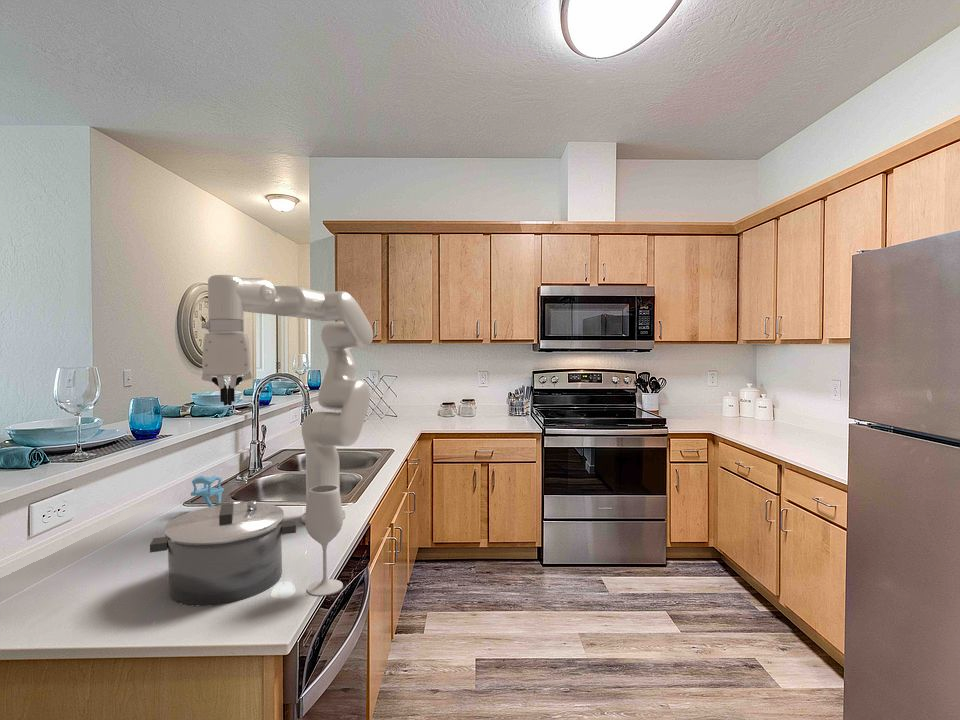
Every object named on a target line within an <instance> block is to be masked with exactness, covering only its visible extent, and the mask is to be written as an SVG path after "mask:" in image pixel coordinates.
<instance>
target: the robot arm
mask: <svg viewBox="0 0 960 720" xmlns="http://www.w3.org/2000/svg"><path fill="white" fill-rule="evenodd" d="M207 302H208V304H207V309H208V319H207V321H205V322H201V329H205V330H208V332H207V333H205V334H204V338H203V345H202V365H201V366H202V367H201V368H202V375H201V376H202V377H201V380H203V381H204V382H205V381H206V382H210V383H214V385H216V387H218V388H219V389H220V391H219V393H220V394H219V395H220V397H219V398H220V402H221V403H223V406H225V407H226V406H232V405H233V403H232V402H236V401H235V397H236V396H235V391H236V390H235V388H236V387H237V386H238V385H240V384H241V382H245V381H248V380H251V379H253V376H252V373H251V352H250V351H251V350H250V342H249V337H248V334H247V333H244V332H245V331H244V330H245V329H244V328H245V325H244V324H245V323H244V319H245V317H244V312H246V313H252V314H253V313H255V314H256V313H257V314H265V315H272V316H280V317H290V318H300V319H305V320H311V321H312V320H313V321H321V322H328V323H326V324H325V325H323V327H321V328H322V329H321V333H320V336H321V340H322V343H323V346H324V348H325V351H326V353H327V358H328V361H327V362H328V363H327V367H326V370H325V374H324V376H323V380H322V382H321V385H320V388H319V390H318V395H317V401H318V404H319V406H321V408H323V409H327V410H333V411H314V412H311V413H310V414H307V415H306V416H305V418H304V419H303V421H302V424H301V435H302V439H303V445H304V451H305V486H306V487H305V489H306V491H305V494H306V496H305V497H306V502H305V503H306V504H307V498H308V493H309V489H310V488H312V487H315V486H320V485H335V486H338V488H339V492H340V493H341V491H340V489H341V487H340V486H341V485H340V483H341V482H340V478H341V477H340V456H339V452H338V449H337V448H336V447H350V446H353V445H354V444H355V443H356V442H357V441H358V440H359V437H360V434H361V432H362V428H363V425H364V422H365V419H366V415H367V413H368V409H369V405H370V400H371V392H370V389H369V386H368V384H367V383H366V382H365V381H363V380H362V379H357V378H355V373H356V369H357V364H356V362H355V358H354V356H353V354H352V353H351V350H355V349H356V350H359V349H360V350H361V349H365V348H368V347H369V346H370V345H372V343H373V340H374V331H373V328H372V325H371V323H370V321H369V320H368V318H367V316H366V315H365V313H364V311H363V309H362V308H361V307H360V305H359V303H358V302H357V301H356V299H355V298H354V297H353V296H352V295H351V294H350V293H349V292H348V291H344V290H342V291H341V290H340V291H337V290H336V291H319V290H315V289H310V288H306V287H302V286H298V285H297V286H296V285H274V284H273V283H272V282H271V281H269V280H267V279H266V278H261V277H239V276H236V275H231V274H213V275H211V276H209V278H208V280H207ZM224 376H227V377H229V376H230V381H229V382H230V383H229V385H228V387H227V384H226V382H225V378H224ZM334 411H341V412H334ZM342 511H343V519H344V518H346V512H345V510H344V509H342ZM305 513H306V512H304V513H302V514H301V516H300V520H301V522H302V523H303V524H305Z"/></svg>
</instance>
